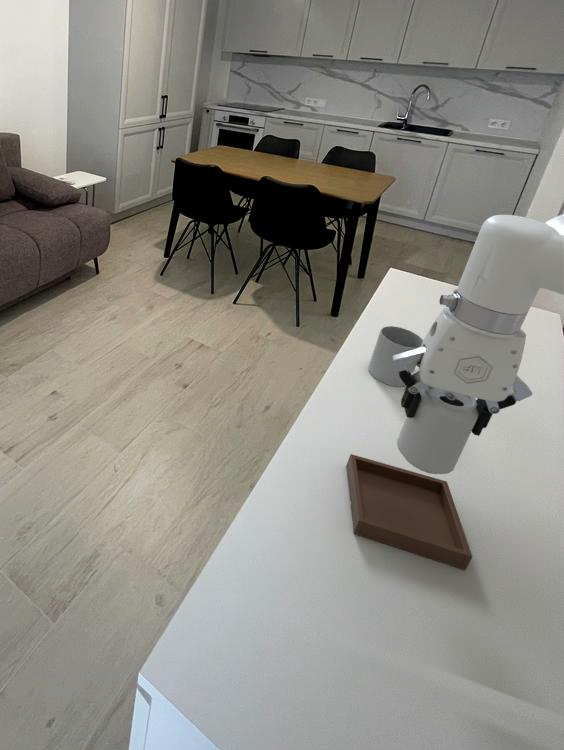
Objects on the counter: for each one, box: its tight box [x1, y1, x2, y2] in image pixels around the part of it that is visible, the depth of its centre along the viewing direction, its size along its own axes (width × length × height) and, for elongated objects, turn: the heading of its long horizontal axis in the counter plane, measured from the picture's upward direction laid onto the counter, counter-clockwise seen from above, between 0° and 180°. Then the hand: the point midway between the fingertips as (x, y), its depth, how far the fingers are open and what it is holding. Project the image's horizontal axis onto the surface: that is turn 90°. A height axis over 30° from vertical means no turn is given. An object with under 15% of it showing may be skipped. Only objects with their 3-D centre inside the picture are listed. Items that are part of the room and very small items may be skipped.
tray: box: [345, 453, 473, 571], centre depth 77 cm, size 15×14×3 cm
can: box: [396, 386, 479, 475], centre depth 70 cm, size 8×8×12 cm
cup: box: [367, 325, 424, 388], centre depth 108 cm, size 8×8×10 cm
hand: (439, 419), depth 70 cm, fingers closed on can, 7 cm apart
